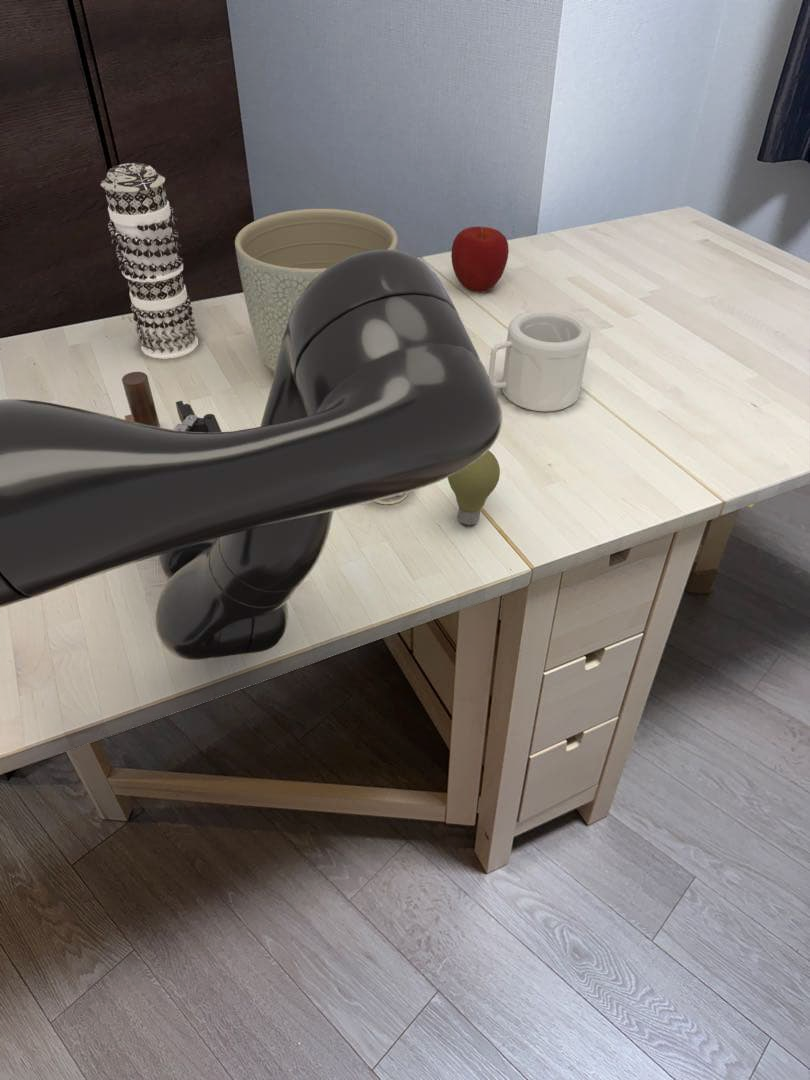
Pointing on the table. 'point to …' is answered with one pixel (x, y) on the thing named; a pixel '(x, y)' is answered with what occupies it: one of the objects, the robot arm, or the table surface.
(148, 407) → the wooden peg
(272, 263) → the planter
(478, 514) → the light bulb
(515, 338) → the mug
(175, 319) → the white patterned cylinder
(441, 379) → the robot arm
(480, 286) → the apple
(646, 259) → the table surface
